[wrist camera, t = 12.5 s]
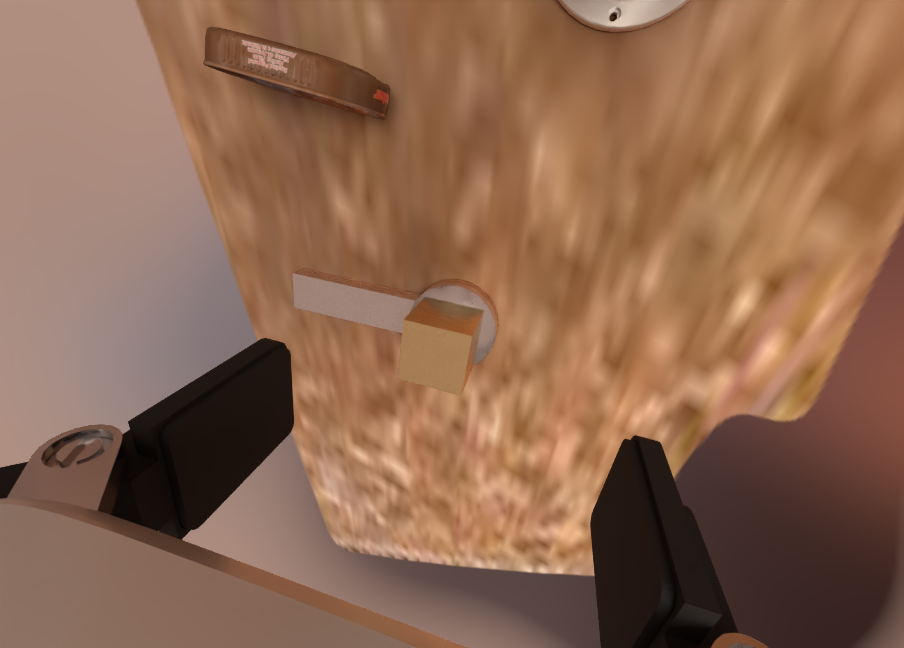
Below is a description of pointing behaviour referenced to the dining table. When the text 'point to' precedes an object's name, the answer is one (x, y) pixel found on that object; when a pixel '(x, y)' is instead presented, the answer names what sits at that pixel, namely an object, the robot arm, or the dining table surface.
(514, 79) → the dining table surface
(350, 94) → the tin
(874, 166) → the dining table surface
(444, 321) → the tan wooden cube
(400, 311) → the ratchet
